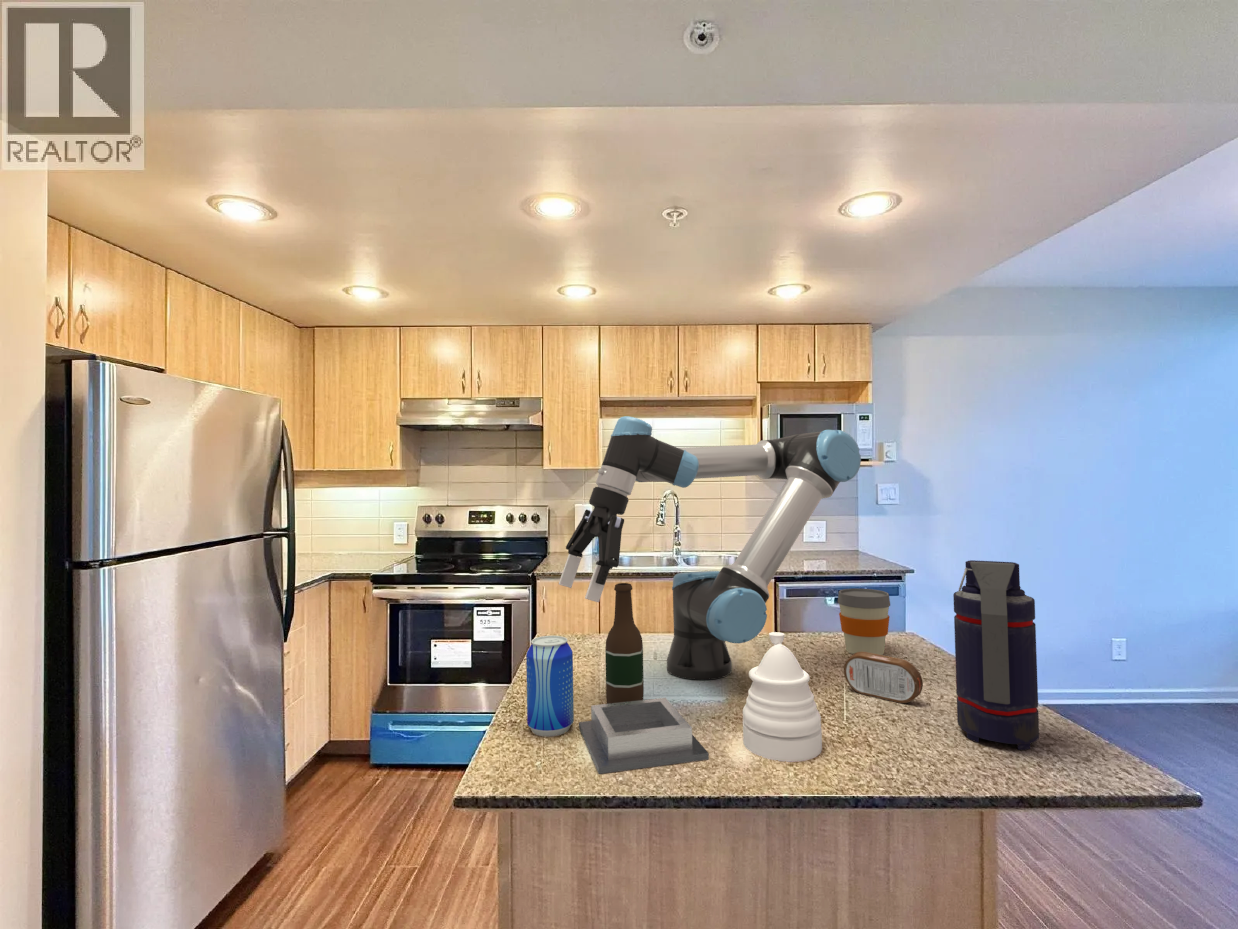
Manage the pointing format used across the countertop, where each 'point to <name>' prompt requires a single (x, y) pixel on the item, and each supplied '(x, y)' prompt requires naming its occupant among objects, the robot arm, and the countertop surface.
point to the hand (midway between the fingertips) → (577, 593)
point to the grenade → (996, 655)
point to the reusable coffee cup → (864, 619)
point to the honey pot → (781, 708)
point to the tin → (883, 677)
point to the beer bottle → (624, 652)
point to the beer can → (549, 686)
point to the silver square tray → (639, 736)
